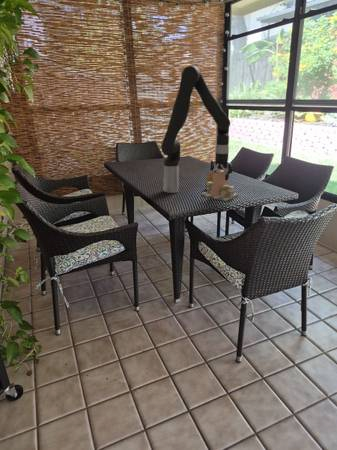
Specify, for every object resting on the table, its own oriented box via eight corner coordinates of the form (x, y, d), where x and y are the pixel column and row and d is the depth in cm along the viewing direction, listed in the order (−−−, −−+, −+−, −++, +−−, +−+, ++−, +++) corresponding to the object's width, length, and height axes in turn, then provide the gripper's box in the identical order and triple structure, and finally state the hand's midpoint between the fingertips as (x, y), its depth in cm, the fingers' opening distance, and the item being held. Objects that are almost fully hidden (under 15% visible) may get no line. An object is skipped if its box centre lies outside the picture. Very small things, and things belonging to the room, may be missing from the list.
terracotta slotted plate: (212, 195, 190) (213, 172, 185) (223, 191, 198) (224, 169, 193) (216, 196, 188) (217, 173, 183) (226, 192, 196) (228, 170, 191)
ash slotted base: (201, 195, 195) (201, 184, 192) (214, 190, 204) (214, 179, 201) (225, 201, 183) (226, 189, 180) (238, 195, 193) (239, 184, 190)
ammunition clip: (207, 189, 206) (208, 171, 201) (205, 189, 208) (206, 171, 203) (220, 187, 211) (221, 169, 206) (218, 186, 212) (219, 169, 208)
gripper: (208, 151, 185) (207, 178, 192) (228, 154, 176) (227, 182, 183) (215, 150, 190) (214, 176, 197) (235, 152, 181) (233, 179, 188)
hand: (220, 178), depth 190 cm, fingers open, 8 cm apart
